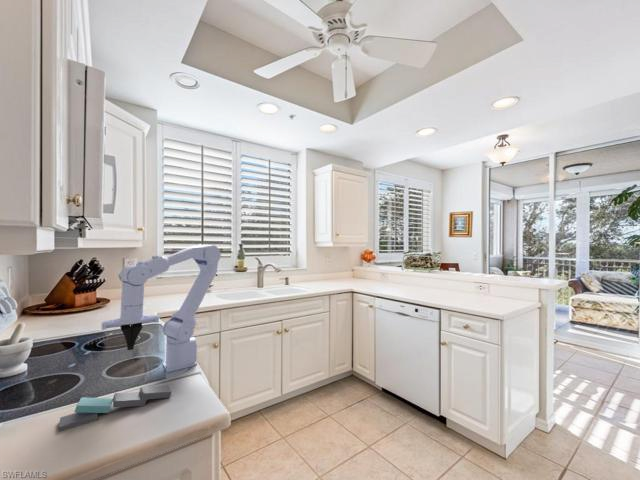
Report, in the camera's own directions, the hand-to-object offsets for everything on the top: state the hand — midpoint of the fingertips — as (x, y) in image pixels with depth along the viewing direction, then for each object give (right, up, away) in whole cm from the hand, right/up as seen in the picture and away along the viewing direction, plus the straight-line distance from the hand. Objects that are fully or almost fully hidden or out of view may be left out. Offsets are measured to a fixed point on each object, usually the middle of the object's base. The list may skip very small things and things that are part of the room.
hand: (130, 348), depth 87 cm
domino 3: (+10, -10, -9) cm, 17 cm away
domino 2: (+2, -11, -16) cm, 19 cm away
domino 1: (+4, -10, -13) cm, 17 cm away
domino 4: (+15, -10, -5) cm, 19 cm away
